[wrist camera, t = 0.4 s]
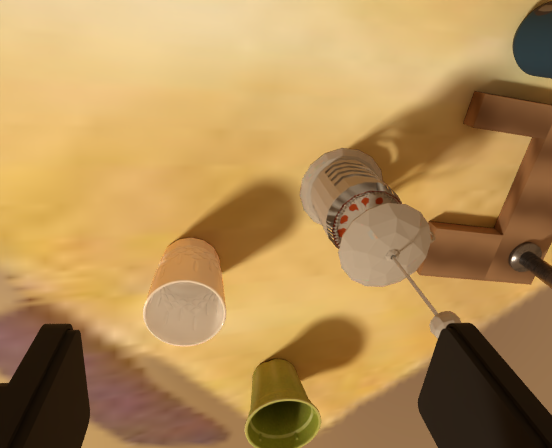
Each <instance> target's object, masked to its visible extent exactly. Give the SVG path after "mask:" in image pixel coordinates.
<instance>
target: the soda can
mask: <svg viewBox="0 0 552 448" xmlns="http://www.w3.org/2000/svg"><path fill="white" fill-rule="evenodd" d="M513 54H514V57H515V60H516V62H517V64H518V66H519V67H520V68H521V69H522V70H523V71H524V72H525V73H527V74H529V75H533V76H539V77H545V78H551V79H552V2H548V3H545V4H543V5H541V6H539V7H537V8H536V9H535V10H533V11H532V12H531V13H530V14H529V15H528V16H527V17H526V18H525V19H524V20H523V22H522V23H521V24H520V26H519V27H518V29H517V31H516V33H515V36H514V39H513Z"/></svg>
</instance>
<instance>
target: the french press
mask: <svg viewBox="0 0 552 448" xmlns="http://www.w3.org/2000/svg"><path fill="white" fill-rule="evenodd" d="M383 184H384V185H383ZM387 186H388V185H387V184H386V183H384V182H383V180H382V174H381V169H380V168H379V167H378V165H377V164H376V162H375V161H374V159H373V158H372V157H370V156H369V155H367V154H365V153H363V152H361V151H360V150H356V149H344V148H341V149H338V150H335V151H331V152H328V153H325V154H324V155H322V156H321V157H320V158H319V159H317V160H316V161H315V162H313V163H312V164H311V165H310V167H309V169H308V170H307V172H306V174H305V175H304V177H303V179H302V184H301V190H300V198H301V202H302V205H303V209H304V211H305V212H306V213H307V214H308V215H309V217H310V218H311V219H312V220H313V221H314V222H316V223H318V224H320V225H322V226H323V229H324V230H325V232H326V234H327V236H328V238H329V239H330V240H331V241H332V243H333V244H334V245H335V246H336V247H337V248H338V249H339V252H338V253H339V258H340V262H341V267H342V269H343V270H344V271H345V272H346V274H347V275H348V276H349V277H350V278H351V280H353V281H356V282H358V283H360V284H362V285H364V286H375V287H384V286H387V285H391V284H394V283H397V282H400V281H402V280H403V279H405V278H406V277H407V279H408V280H409V281H410V283H411V284H412V285H413V287H414V288H415V289H416V291H417V292H418V293H419V295H420V296H421V297H422V299H423V300H424V301H425V303H426V304H427V305H428V307H429V308H430V309H431V311H432V312H433V313H434V315H435V316H434V318H433V319H432V320H431V322H430V330H431V332H432V333H433V334H434V335H435V336H436V337H437V338H439V335H440V332H441V330H442V329H444V328H446V326H447V325H448V324H449V323H461V321H460V318H459V317H458V316H457V315H456V314H455V313H453V312H451V311H445V312H441V313H439V314H438V313H437V311H436V310H435V309H434V307H433V306H432V305H431V303H430V302H429V301H428V300H427V298H426V297H425V296H424V294H423V293H422V292H421V290H420V289H419V288H418V287H417V285H416V284H415V283H414V281H413V280H412V279H411V277H410V276H409V275H411V274H412V273H414V272H415V271H416V270H417V269H418V267H419V266H420V265H421V263H422V262H423V261H424V260H425V258H426V256H427V253H428V250H429V247H430V243H432V242H433V241H435V235H434V233H433V232H432V231H431V230H430V226H429V224H428V223H427V221H426V220H425V218H424V217H423V215H422V214H421V212H419V211H417V210H415V209H414V208H412V207H410V206H408V205H406V204H402V202H401V201H400V199H399V197H398V195H397V194H396V193H395V192H394V191H393V190H392V189H391V188H390V187H389V186H388V188H389V190H388V189H387ZM391 190H392V191H393V193H394V195H395V196H394V195H393V194H392V191H391ZM327 228H329V229H330V230H332V232H331V231H330V230H328V229H327ZM331 228H333V229H331ZM329 232H330V233H331V234H333V236H332V235H331V234H330V233H329ZM430 233H431V235H432V239H431V235H430ZM330 236H331V237H332V238H334V240H333V239H332V238H331V237H330Z"/></svg>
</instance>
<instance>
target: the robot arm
mask: <svg viewBox="0 0 552 448" xmlns="http://www.w3.org/2000/svg"><path fill="white" fill-rule="evenodd" d="M418 408H419V412H420V414H421V416H422V418H423V420H424V422H425V423H426V426H427V428H428V429H429V431H430V433H431V435H432V437H433V439H434V441H435V443H436V445H437V446H438V448H552V415H551V414H550V413H549V412H548V411H547V409H546V408H545V407H544V406H543V405H542V404H541V402H540V401H539V400H538V399H537V398H536V397H535V396H534V394H533V393H532V392H531V391H530V390H529V389H528V387H527V386H526V385H525V384H524V383H523V382H522V380H521V379H520V378H519V377H518V376H517V375H516V374H515V372H514V371H513V370H512V369H511V368H510V367H509V365H508V364H507V363H506V362H505V361H504V359H503V358H502V357H501V356H500V355H499V354H498V352H497V351H496V350H495V349H494V348H493V347H492V346H491V344H490V343H489V342H488V341H487V340H486V339H485V337H484V336H483V335H482V334H481V333H480V332H479V330H478V329H477V328H476V327H475V326H474V325H473V324H471V323H449V324H448V325H447V326H446V328H444V329H442V330H441V332H440V335H439V338H438V341H437V344H436V347H435V350H434V353H433V356H432V359H431V362H430V365H429V368H428V371H427V374H426V377H425V380H424V383H423V386H422V389H421V393H420V395H419V398H418ZM89 418H90V407H89V399H88V390H87V382H86V374H85V365H84V357H83V349H82V340H81V333H80V331H79V330H73V328H72V325H71V324H44V325H43V326H42V327H41V329H40V330H39V332H38V334H37V336H36V337H35V339H34V341H33V342H32V344H31V346H30V348H29V349H28V351H27V353H26V355H25V356H24V358H23V360H22V361H21V363H20V365H19V367H18V368H17V370H16V372H15V374H14V375H13V377H12V379H11V380H10V382H9V383H0V448H81V446H82V443H83V440H84V437H85V434H86V431H87V427H88V424H89Z"/></svg>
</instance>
